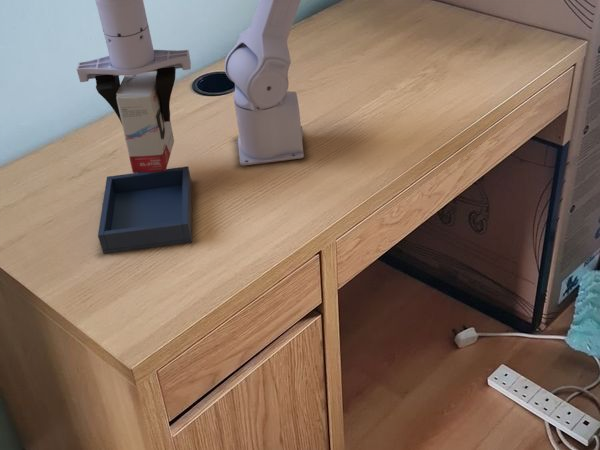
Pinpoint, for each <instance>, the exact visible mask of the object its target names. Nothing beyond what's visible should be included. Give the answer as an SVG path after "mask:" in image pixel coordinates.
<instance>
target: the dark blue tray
mask: <svg viewBox="0 0 600 450" xmlns="http://www.w3.org/2000/svg"><path fill="white" fill-rule="evenodd" d="M102 199H103V200H102V205H101V211H100V217H99V218H100V219H99V225H98V231H97V239H98V240H99V245H100V248H101V250H102V254H104V255H105V254H111V253H119V252H127V251H135V250H142V249H149V248H151V249H152V248H159V247H166V246H174V245H182V244H187V243H192V242H193V182H192V177H191V172H190V167H189V166H181V167H180V166H179V167H172V168H166V171H160V172H143V173H133V172H132V173H124V174H118V175H117V174H116V175H110V176H106V181H105V186H104V193H103V198H102Z"/></svg>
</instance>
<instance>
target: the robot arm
mask: <svg viewBox="0 0 600 450" xmlns="http://www.w3.org/2000/svg"><path fill="white" fill-rule="evenodd" d="M301 1H302V0H258V2H257V5H256V8H255V11H254V15H253V17H252V20H251V24H250V26H249V27H248V28H246V29H244V30H243V31H241V32H240V33H239V35H238V39H237V41H236V43H235V45H234V46H233V47H232V49H231V50H230V51H229V52H228V54H227V55H226V57H225V60H224V72H225V75H226V76H227V78H228V80H230V81H231V82H232V83H234V87H235V88H234V92H233V101H234V102H233V103H234V109H235V110H234V111H235V116H236V122H237V129H238V137H237V144H238V146H237V147H238V157H239V164H240V166H242V167H243V166H250V165H251V166H252V165H261V164H267V163H274V162H275V163H276V162H283V161H284V162H285V161H290V160H298V159H304V158H305V154H304V147H303V146H304V143H303V138H304V130H303V126H302V124H301V123H302V122H301V114H300V113H301V112H300V105H299V100H298V94H297V92H296V91H288V90H289V85H290V84H289V69H290V67H291V63H292V61H291V55H290V50H289V46H288V39H289V36H290V33H291V30H292V28H293V24H294V22H295V19H296V16H297V13H298V11H299V7H300V4H301ZM95 4H96V9H97V12H98V16H99V20H100V24H101V28H102V32H103V36H104V40H105V44H106V48H107V53H108V55H106V56H103V57H99V58H95V59H91V60H86V61H80V62H78V64H77V67H76V72H77V75H78V79H79V83H86V82H89V80H93V79H95V89H96V91H97V93H98V94H99V95H100V96H101V97H102V98H103V99H104V100H105V101H106V102H107V104H108V105H109V106H110V108H112V110H113V111H114V113H115V114H116V116H117V118H118V120H119V121H120V123H121V125H122V121H121V117H120V112H119V108H118V103H117V99H116V97H117V95H116V93H117V91H118V89H119V87H120V85H121V80H120V76H125V75H136V74H141V73H145V72H153V71H157V74H156V85H157V88H158V91H159V95H160V99H161V103H162V110H163V117H164V121H165V122H169V121H171V109H170V105H171V104H170V103H171V96H172V92H173V89H174V85H175V83H176V82H175V81H176V74H177V73H176V72H177V70H178V69H182V71H188V70H191V69H192V62H191V61H192V60H191V55H190V50H189V49H181V50H180V49H178V50H173V49H172V50H171V49H154V45H153V41H152V36H151V31H150V26H149V22H148V16H147V13H146V8H145V3H144V0H95Z"/></svg>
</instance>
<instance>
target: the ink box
mask: <svg viewBox="0 0 600 450" xmlns="http://www.w3.org/2000/svg"><path fill="white" fill-rule="evenodd" d="M156 74H157V71H153V72H145V73H141V74H136V75H123V78H122V80H121V81H120V87H119V89H118V91H117V93H116V95H117V97H116V99H117V103H118V108H119V112H120V117H121V121H122V124H121V126H122V130H123V134H124V140H125V143H126V148H127V153H128V158H129V162H130V167H131V172H132V173H143V172H160V171H166V169H168V165H169V161H170V157H171V154H172V151H173V147H174V144H175V138H174V132H173V128H172V122H171V120H170V121H169V122H165V121H164V117H163V110H162V103H161V99H160V95H159V91H158V88H157V85H156ZM121 121H120V122H121Z"/></svg>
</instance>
